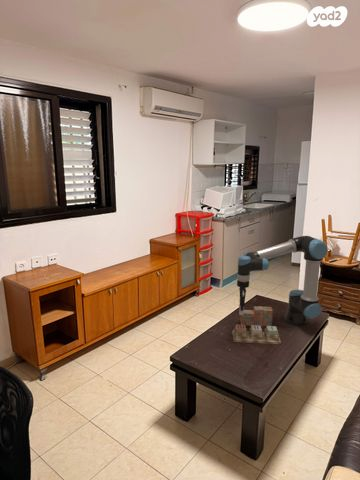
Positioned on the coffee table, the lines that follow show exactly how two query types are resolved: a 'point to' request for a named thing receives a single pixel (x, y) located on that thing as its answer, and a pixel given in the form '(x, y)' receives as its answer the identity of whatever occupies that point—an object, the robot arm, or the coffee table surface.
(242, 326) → the tile
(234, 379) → the coffee table surface
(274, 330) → the light grey block
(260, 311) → the stack of blocks
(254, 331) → the tile
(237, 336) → the button board
